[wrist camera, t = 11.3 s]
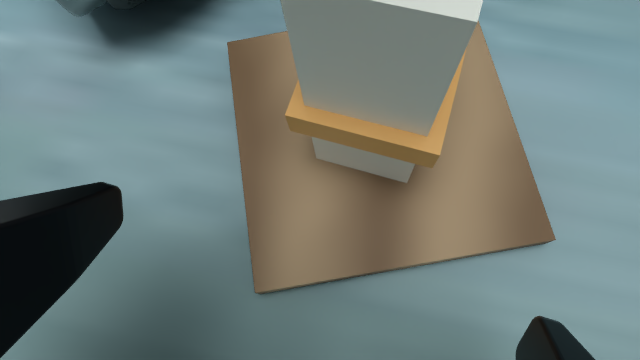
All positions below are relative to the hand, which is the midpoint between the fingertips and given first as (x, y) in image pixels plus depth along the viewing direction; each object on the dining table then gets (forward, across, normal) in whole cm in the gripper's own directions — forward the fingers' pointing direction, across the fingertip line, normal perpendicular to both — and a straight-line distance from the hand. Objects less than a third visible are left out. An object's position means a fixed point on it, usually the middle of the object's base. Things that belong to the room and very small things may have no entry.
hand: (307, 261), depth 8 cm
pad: (+11, 0, +1) cm, 11 cm away
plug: (+10, 0, +1) cm, 11 cm away
